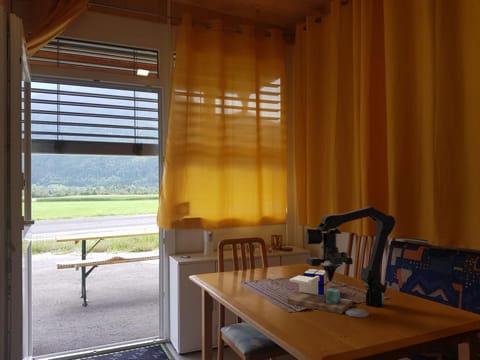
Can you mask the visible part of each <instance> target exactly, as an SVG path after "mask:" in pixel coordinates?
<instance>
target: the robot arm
mask: <svg viewBox="0 0 480 360" xmlns="http://www.w3.org/2000/svg"><path fill="white" fill-rule="evenodd" d="M367 217H368V218H369V219H371V220H372V221H374V222H375V226H374V227H375V232H376V235H375V238H374V242H373V247H372V250H371V254H370V259H369V262H368V265H367V266H366V267H362V271H361V273H360V276H359V277H361V278H360V280H361V282H362V284H364V285H365V288H366V292H365V305H366V306H370V307H376V308H382V307H383V306H385V304H386V302H385V297H384V295H385V293H386V291H387V287H385V285H384V284H383V283H382V281H381V280H382V274H381V265H382V261H383V258H384V257H383V256H384V254H385V249H386V245H387V241H388V238H389V235H390V234H391V233H392V232H393V230H394V228H395V226H396V219H395V217H394V216H393V215H390V214H389V215H388V214H386V213H384V212H382V211H380V210H378V209H376V208H375V207H373V206H365V207H361V208H358V209H355V210H352V211H347V212H343V213H334V214H332V213H331V214H324V215H323V216H322V217H321V220H320V223H319V224H318V226H317V227H316V228H306V229H305V230H306V231H305V234H304V244H305V245H307V246H309V245H315V246H316V245H321V244H322V246H321V249H322V255H321V258H319V257H317V256H309V257H307V259H306V263H307V265H310V266H312V267H319V266H321V267H322V270H324V271H325V273H326V275H327V278H328V280H329V282H332V280H333V277H334V275H335V273H336V270H337V269H338V268H340V267H341V266H342V265H343V263H345V265H353V263H354V262H353V258H352V257H351V256H349V255H348V253H347V252H346V251H341V252H339V247H338V246H337V243H338V242H337V235H340V234H342V232H341V231H340V229H339V228H338V227H341V226H342V225H344V224H346V223H349V222H352V221H357V220H360V219H363V218H367Z"/></svg>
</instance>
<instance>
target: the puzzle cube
mask: <svg viewBox="0 0 480 360" xmlns="http://www.w3.org/2000/svg"><path fill="white" fill-rule="evenodd" d="M302 276H306V277H315V276H319V281H318V294H319V295H324V296H326V290H328V289H330V281H329V280H328V278H327V275H326V273H325V271H324V269H313V268H309V269H308V270H306V271H305V272H303V275H302Z"/></svg>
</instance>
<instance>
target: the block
mask: <svg viewBox="0 0 480 360" xmlns="http://www.w3.org/2000/svg"><path fill="white" fill-rule="evenodd" d="M340 295H341V290H340V289H336V288H331V287H329V289H328V290H326V294H325V296H326V303H328V304H334V305H339V304H340V298H341V297H340Z"/></svg>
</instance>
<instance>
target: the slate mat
mask: <svg viewBox="0 0 480 360" xmlns="http://www.w3.org/2000/svg"><path fill="white" fill-rule="evenodd" d="M344 313H345V315H347V316H349V317H353V318H367V317H369V312H368V311H367V310H365V309H362V308H348V309H347V310H345V311H344Z"/></svg>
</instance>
